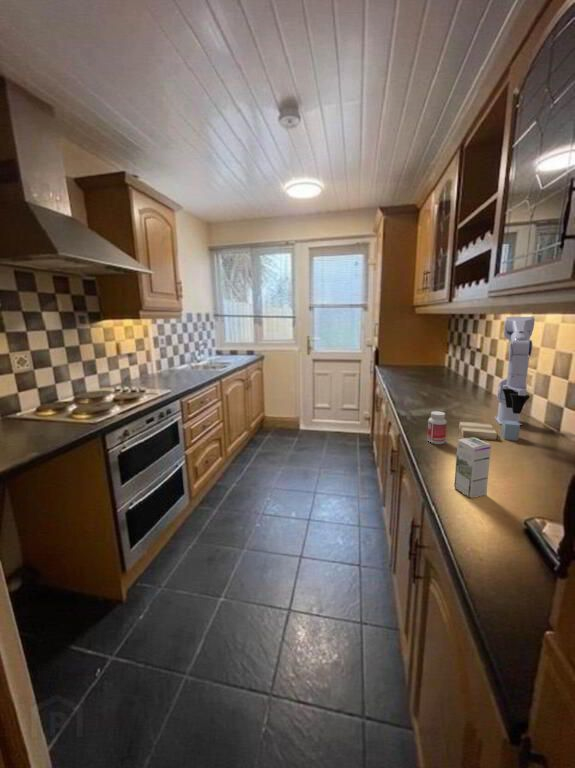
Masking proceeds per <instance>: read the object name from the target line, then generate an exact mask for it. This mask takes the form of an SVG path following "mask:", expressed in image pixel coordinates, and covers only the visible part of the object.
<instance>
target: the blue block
mask: <svg viewBox="0 0 575 768" xmlns="http://www.w3.org/2000/svg"><path fill="white" fill-rule="evenodd" d="M520 429H521V426H520V424H519V423H518V422H517V421H506V420H503V422H502V424H501V434H500V435H502V436H501V437H502V439H503V438H504V439H503V440H505V439H507V441H517V440H518V441H519V440H520V439H519V437H520Z"/></svg>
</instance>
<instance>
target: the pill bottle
mask: <svg viewBox="0 0 575 768" xmlns="http://www.w3.org/2000/svg"><path fill="white" fill-rule="evenodd" d="M446 435H447V420H446V413H445V412H443V411H434V410H433V411H431V413H430V417H429V418H428V420H427V439H426V440H427V441H429V442H428V443H430V442H431V443H430V444H433V443H434V445H443V444H445V443H446V439H447V438H446V437H447V436H446Z"/></svg>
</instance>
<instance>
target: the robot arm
mask: <svg viewBox="0 0 575 768" xmlns="http://www.w3.org/2000/svg"><path fill="white" fill-rule="evenodd" d="M534 326H535V317H534V316H506V317H505V319H504V327H503V328H504V329H503V331H504V332H503V336H504V338H505V339H506V340H508V343H509V349H508V364H507V366H508V367H507V376H506V378H505V379H502V380H500V381H499V383H498V387H497V395H496V396H497V398H496V399H497V400H498V401H499V403H498V407H497V416H494V419H495V421H497V422H498V424H499V425H502V422H503V420H506V421H517V422H518V423H519V424H520V425H522V426H523V424H522V423H521V422H520V421H519V420H520V417H521V416H520V414H521V413H522V410H523V408H524V406H525V404H526V402H527V401H528V400H529V399H530V395H528V394H527V392H528V390H527V386H528V385H527V380H528V370H529V364H530V363H529V361H530V357H531V356H532V352H533V345H534V344H533V339H531V337H532V335H533V331H534V328H535V327H534Z"/></svg>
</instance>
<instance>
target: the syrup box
mask: <svg viewBox="0 0 575 768" xmlns="http://www.w3.org/2000/svg"><path fill="white" fill-rule="evenodd" d="M456 443H457V445H456V446H457V447H456V459H455V473H454V485H453V486H454V487H455V488H456V489H458V490H459V491H461V492H462V493H464V494H465V495H467V496H468V497H476V496H480V497H483V496H482V495H484V496H487V491H488V481H489V470H490V463H491V462H490V460H491V452H492V444H491V443H489V442H486V441H484V440H481V439H480V438H475V437H463V438H460V439H457V442H456ZM456 489H455V490H456ZM458 490H457V491H458ZM459 491H458V492H459ZM461 492H460V493H461ZM462 493H461V494H462ZM464 494H463V495H464ZM465 495H464V496H465ZM467 496H466V497H467ZM468 497H467V498H468ZM476 498H477V497H476Z"/></svg>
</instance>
